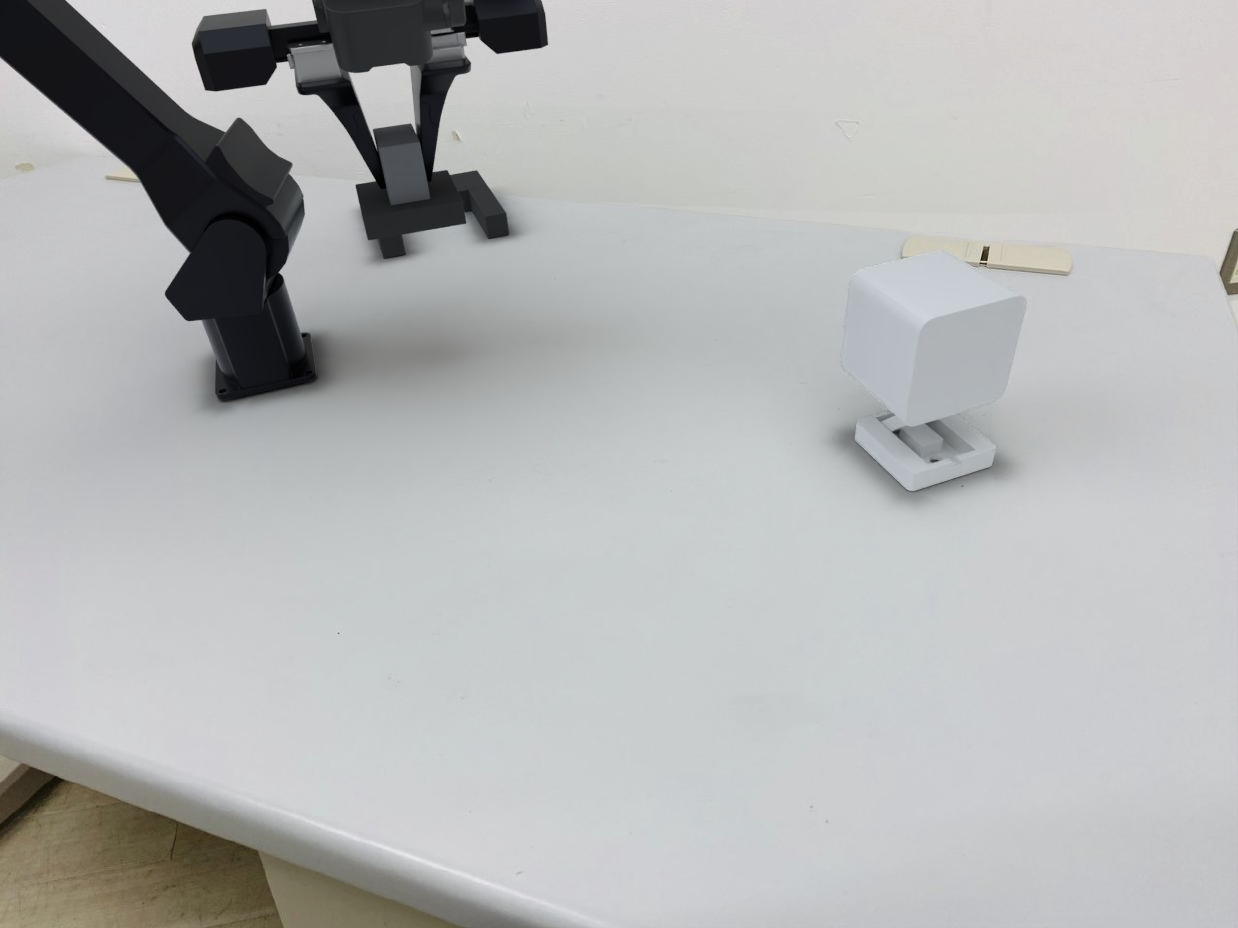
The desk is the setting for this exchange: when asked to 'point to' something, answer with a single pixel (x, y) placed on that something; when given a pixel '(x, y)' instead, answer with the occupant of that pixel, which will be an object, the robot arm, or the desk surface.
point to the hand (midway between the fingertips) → (405, 183)
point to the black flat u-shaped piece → (473, 199)
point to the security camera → (929, 361)
